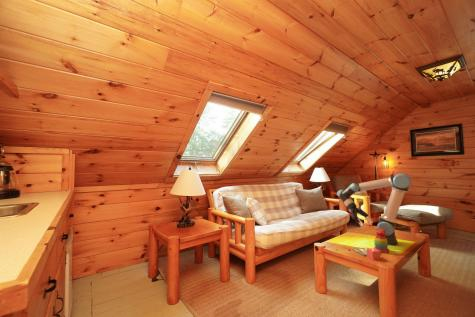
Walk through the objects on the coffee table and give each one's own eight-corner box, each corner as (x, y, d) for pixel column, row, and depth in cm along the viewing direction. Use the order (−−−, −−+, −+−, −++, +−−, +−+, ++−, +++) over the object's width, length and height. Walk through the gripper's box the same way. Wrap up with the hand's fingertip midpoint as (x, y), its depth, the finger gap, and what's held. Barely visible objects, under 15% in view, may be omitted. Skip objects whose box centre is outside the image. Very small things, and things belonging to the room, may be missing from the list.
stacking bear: (390, 250, 181) (389, 228, 181) (388, 254, 173) (387, 231, 174) (375, 247, 188) (374, 226, 188) (372, 251, 180) (371, 229, 181)
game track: (368, 248, 186) (368, 247, 186) (380, 254, 173) (380, 253, 173) (352, 249, 183) (352, 249, 183) (363, 256, 170) (363, 255, 170)
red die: (373, 256, 170) (373, 248, 170) (380, 259, 164) (379, 250, 165) (366, 256, 169) (366, 248, 169) (373, 259, 163) (372, 251, 164)
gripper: (355, 205, 212) (372, 224, 199) (339, 208, 200) (355, 229, 187) (361, 200, 208) (378, 220, 194) (344, 203, 196) (361, 224, 182)
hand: (367, 224), depth 191 cm, fingers open, 13 cm apart
